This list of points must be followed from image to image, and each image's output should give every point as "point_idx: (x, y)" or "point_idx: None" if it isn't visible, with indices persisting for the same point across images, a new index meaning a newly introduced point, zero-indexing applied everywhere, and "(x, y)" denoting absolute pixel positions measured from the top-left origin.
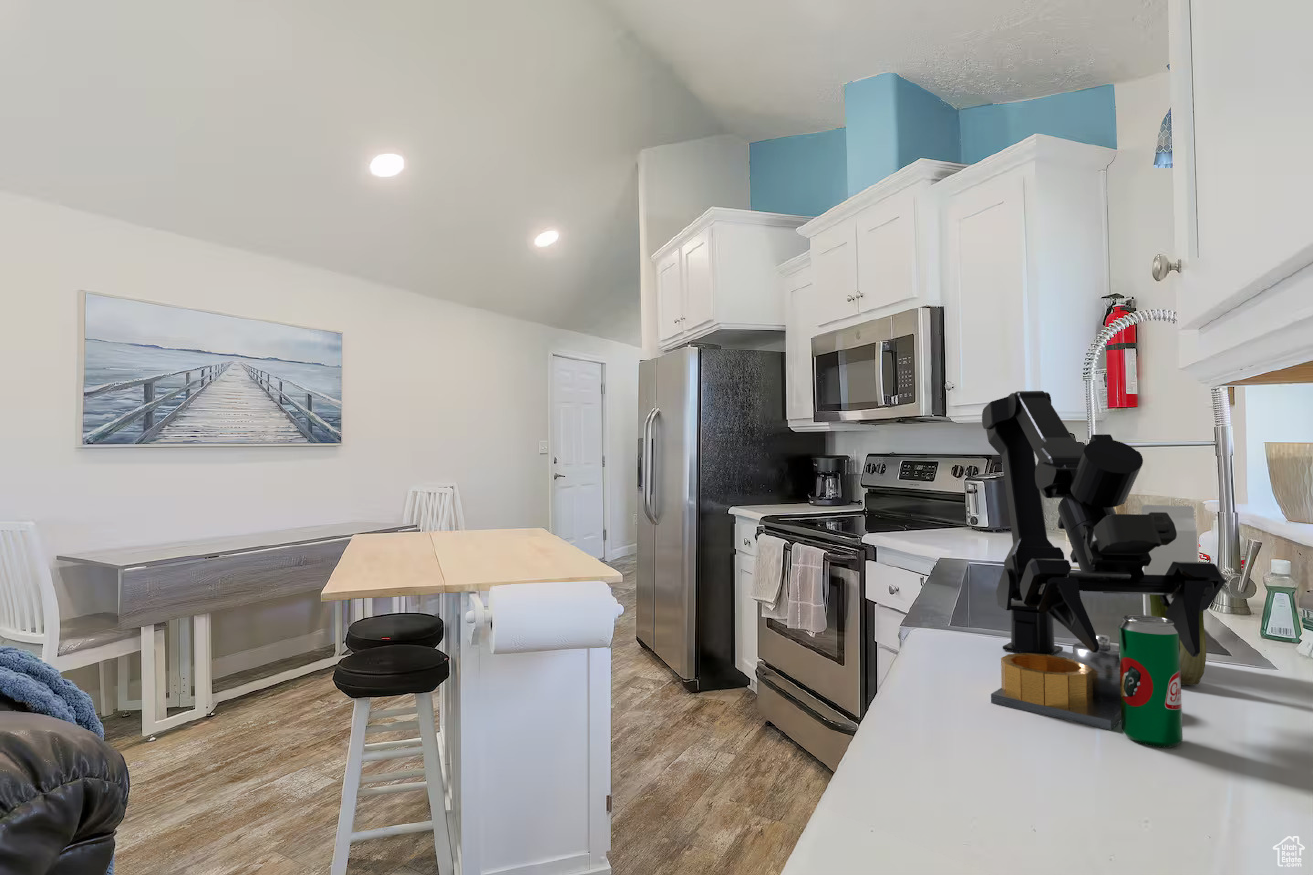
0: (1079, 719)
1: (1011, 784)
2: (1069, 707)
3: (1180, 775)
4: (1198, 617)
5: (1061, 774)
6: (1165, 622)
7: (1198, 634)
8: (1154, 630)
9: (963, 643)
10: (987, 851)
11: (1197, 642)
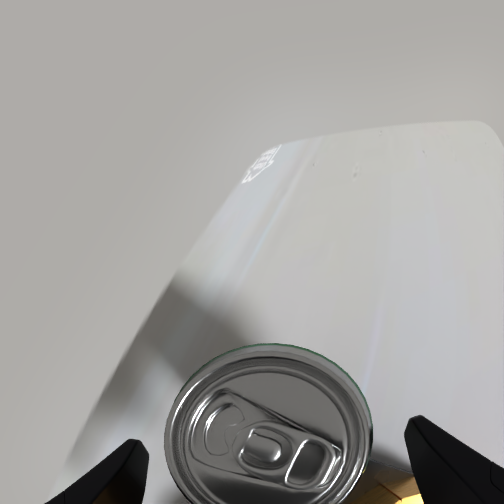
0: (370, 459)
1: (451, 212)
2: (380, 484)
3: (291, 285)
4: (57, 496)
5: (418, 246)
6: (214, 388)
7: (98, 465)
8: (279, 350)
9: None
10: (437, 131)
11: (117, 453)
